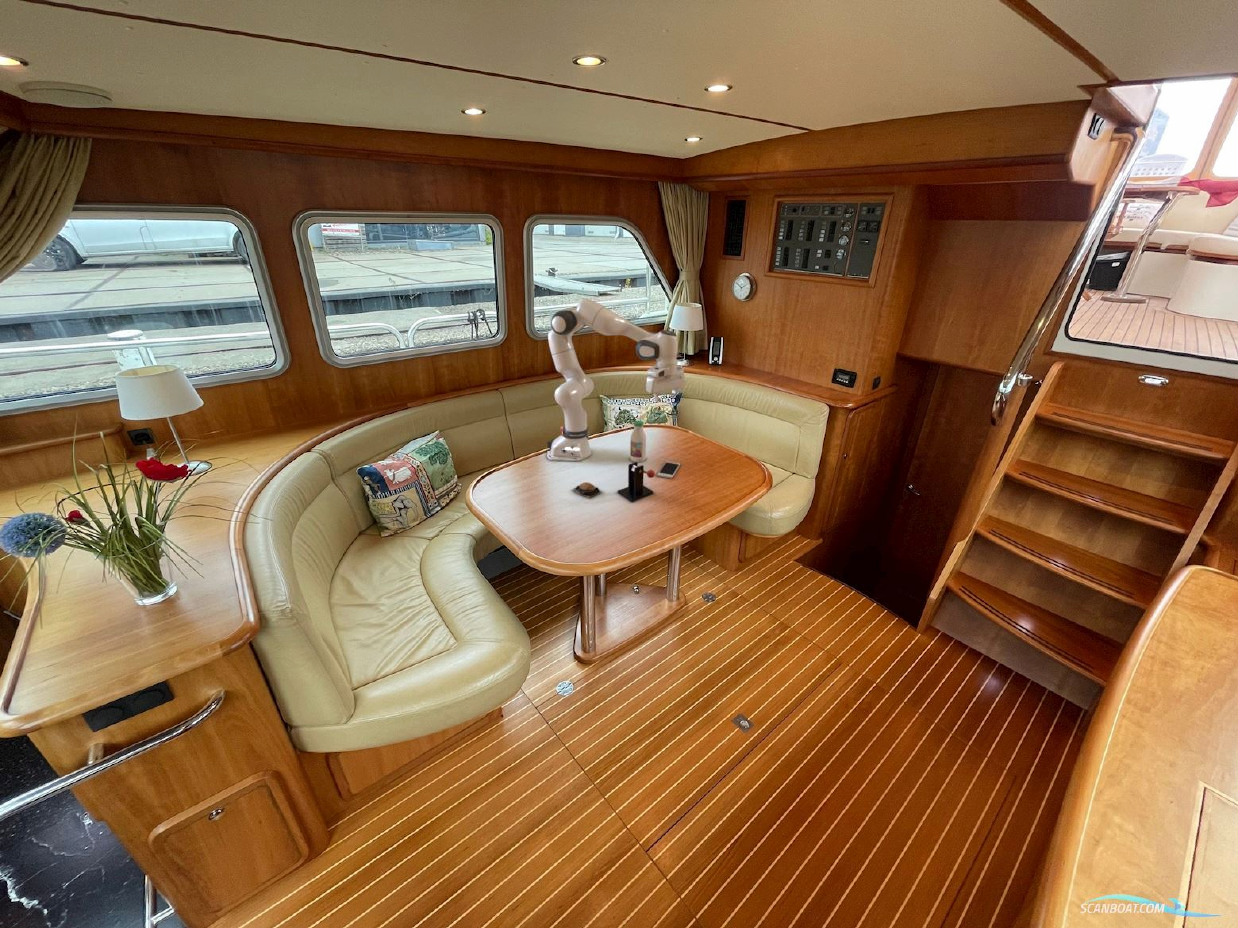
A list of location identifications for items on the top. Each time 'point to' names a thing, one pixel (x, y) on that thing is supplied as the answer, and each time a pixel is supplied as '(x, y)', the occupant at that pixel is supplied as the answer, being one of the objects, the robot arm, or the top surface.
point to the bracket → (635, 484)
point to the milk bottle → (638, 443)
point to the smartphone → (668, 469)
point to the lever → (649, 473)
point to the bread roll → (587, 490)
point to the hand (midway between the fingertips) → (665, 399)
